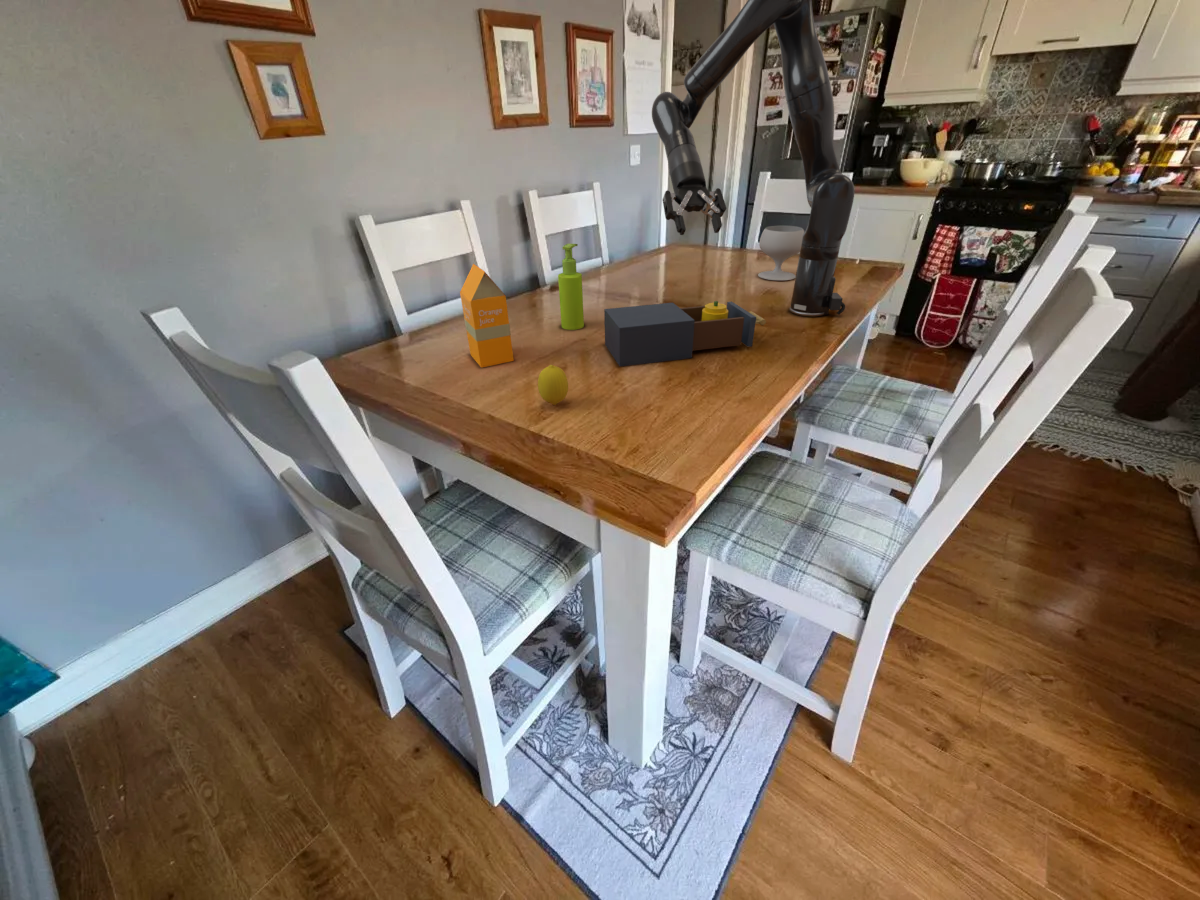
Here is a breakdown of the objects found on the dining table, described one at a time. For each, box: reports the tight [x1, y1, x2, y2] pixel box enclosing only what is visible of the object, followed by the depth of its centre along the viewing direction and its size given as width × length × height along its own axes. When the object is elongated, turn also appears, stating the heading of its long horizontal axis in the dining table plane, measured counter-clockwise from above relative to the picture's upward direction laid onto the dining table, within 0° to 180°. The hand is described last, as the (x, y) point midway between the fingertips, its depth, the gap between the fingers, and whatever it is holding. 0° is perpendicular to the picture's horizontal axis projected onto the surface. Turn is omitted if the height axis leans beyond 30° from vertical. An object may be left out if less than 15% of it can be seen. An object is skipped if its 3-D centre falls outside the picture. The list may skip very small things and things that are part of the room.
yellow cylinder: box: [701, 300, 728, 321], centre depth 117 cm, size 6×6×8 cm
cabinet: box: [603, 302, 695, 367], centre depth 115 cm, size 17×14×9 cm
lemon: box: [537, 364, 569, 406], centre depth 94 cm, size 6×6×8 cm
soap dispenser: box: [557, 243, 585, 331], centre depth 129 cm, size 6×7×20 cm
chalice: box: [757, 225, 805, 281], centre depth 167 cm, size 14×14×15 cm
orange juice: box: [459, 263, 514, 368], centre depth 111 cm, size 8×9×20 cm
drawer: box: [679, 301, 767, 352], centre depth 118 cm, size 20×12×7 cm, turn 103°
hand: (700, 231), depth 118 cm, fingers open, 8 cm apart
